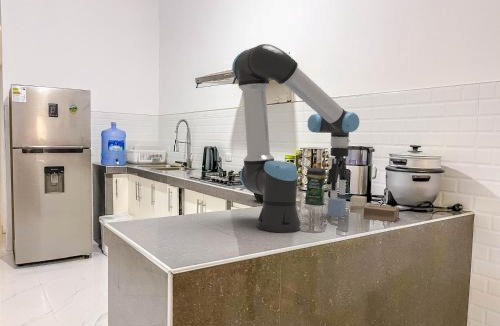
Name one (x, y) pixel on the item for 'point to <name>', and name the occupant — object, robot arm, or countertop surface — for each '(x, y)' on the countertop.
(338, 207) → the slate block
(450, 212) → the countertop surface
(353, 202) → the birch block
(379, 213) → the walnut block
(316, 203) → the coffee jar
